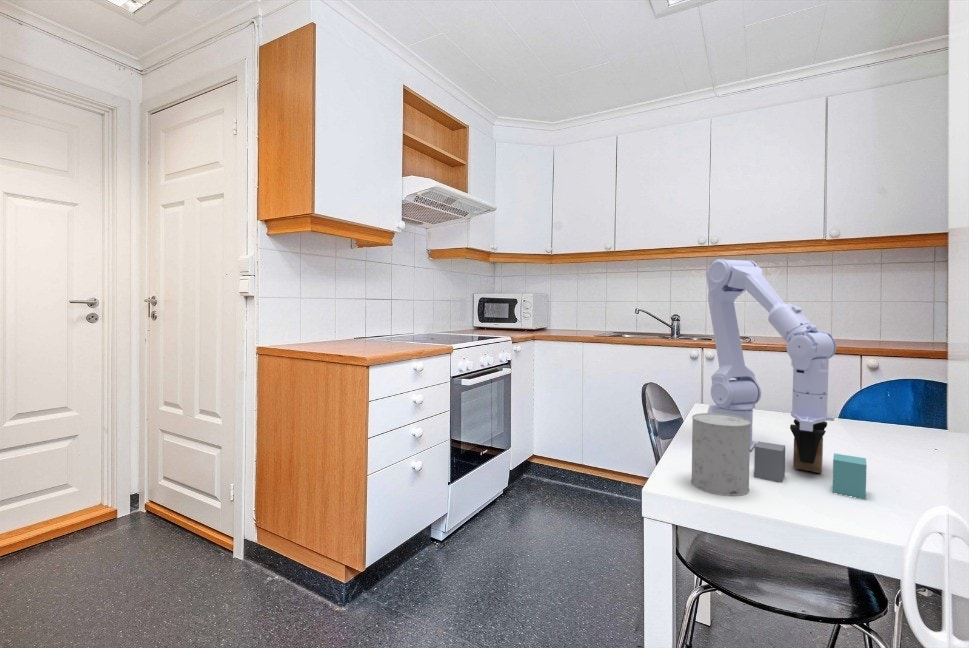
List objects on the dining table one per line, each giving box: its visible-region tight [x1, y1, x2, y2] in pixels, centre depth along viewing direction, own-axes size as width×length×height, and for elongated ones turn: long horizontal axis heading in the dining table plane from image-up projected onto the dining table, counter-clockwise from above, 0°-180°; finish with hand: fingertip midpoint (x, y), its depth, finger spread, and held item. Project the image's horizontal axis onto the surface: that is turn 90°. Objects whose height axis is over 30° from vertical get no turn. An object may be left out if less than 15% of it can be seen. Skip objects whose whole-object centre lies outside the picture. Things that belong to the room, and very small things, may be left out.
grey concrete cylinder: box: [690, 412, 751, 497], centre depth 84 cm, size 10×10×12 cm
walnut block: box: [792, 436, 824, 474], centre depth 92 cm, size 4×4×6 cm
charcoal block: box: [753, 441, 786, 484], centre depth 88 cm, size 4×4×6 cm
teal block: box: [831, 453, 868, 500], centre depth 81 cm, size 4×4×6 cm
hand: (808, 459), depth 92 cm, fingers closed on walnut block, 4 cm apart
